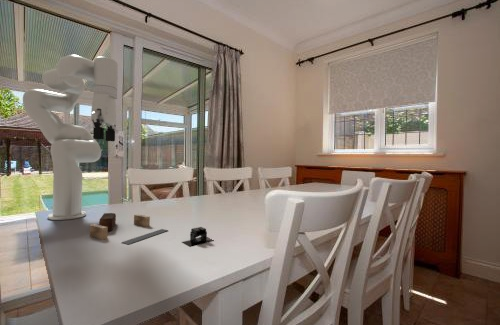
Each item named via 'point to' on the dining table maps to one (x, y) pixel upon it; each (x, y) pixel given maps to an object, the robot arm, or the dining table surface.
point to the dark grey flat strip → (144, 236)
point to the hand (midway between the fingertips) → (104, 140)
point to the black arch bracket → (195, 233)
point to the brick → (108, 220)
